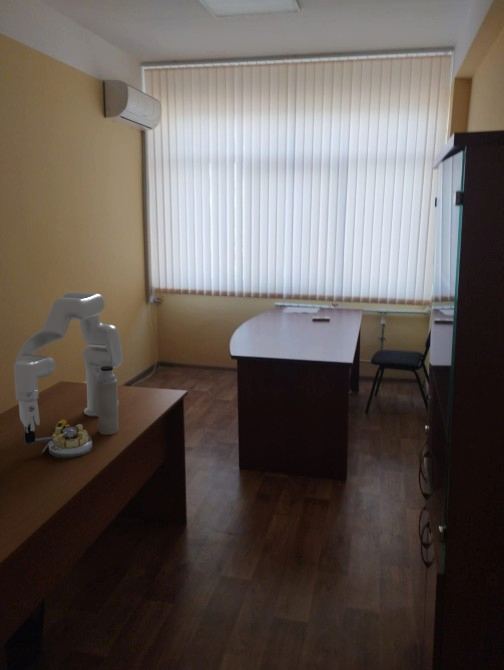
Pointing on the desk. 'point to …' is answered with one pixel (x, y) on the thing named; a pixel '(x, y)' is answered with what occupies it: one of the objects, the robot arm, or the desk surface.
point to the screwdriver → (60, 424)
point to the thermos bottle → (107, 401)
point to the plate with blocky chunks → (74, 451)
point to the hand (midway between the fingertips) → (30, 441)
